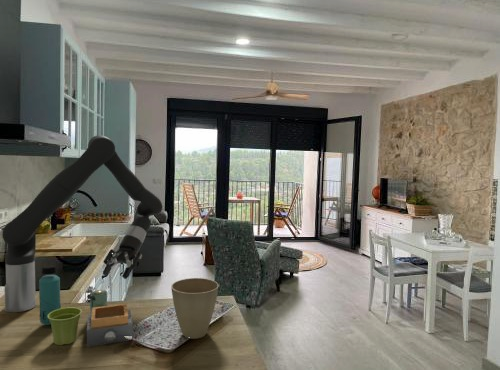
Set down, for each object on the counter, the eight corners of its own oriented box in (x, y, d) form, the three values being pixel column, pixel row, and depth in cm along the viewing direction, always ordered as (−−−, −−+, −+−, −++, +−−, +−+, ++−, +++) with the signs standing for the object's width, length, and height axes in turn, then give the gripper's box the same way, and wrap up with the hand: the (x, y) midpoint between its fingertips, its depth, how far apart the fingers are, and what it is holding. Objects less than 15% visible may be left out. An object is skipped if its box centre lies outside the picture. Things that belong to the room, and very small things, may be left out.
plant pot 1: (89, 336, 120) (88, 309, 120) (65, 350, 111) (64, 321, 111) (65, 332, 123) (64, 305, 123) (40, 345, 114) (40, 316, 114)
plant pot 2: (177, 348, 113) (177, 295, 112) (166, 328, 127) (166, 280, 126) (225, 339, 119) (225, 289, 118) (209, 321, 133) (210, 275, 132)
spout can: (98, 313, 138) (97, 286, 137) (110, 316, 136) (110, 288, 136) (82, 322, 131) (81, 293, 130) (95, 324, 129) (94, 295, 128)
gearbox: (86, 349, 112) (86, 324, 112) (88, 329, 125) (88, 307, 125) (133, 342, 117) (132, 318, 116) (130, 324, 130) (130, 302, 129)
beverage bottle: (65, 321, 131) (64, 263, 130) (53, 329, 125) (52, 269, 123) (47, 320, 132) (46, 263, 131) (34, 328, 125) (33, 268, 124)
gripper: (113, 233, 151) (93, 269, 141) (144, 235, 147) (126, 273, 137) (122, 243, 157) (103, 279, 147) (152, 246, 152) (135, 283, 142)
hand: (114, 276), depth 142 cm, fingers open, 8 cm apart
